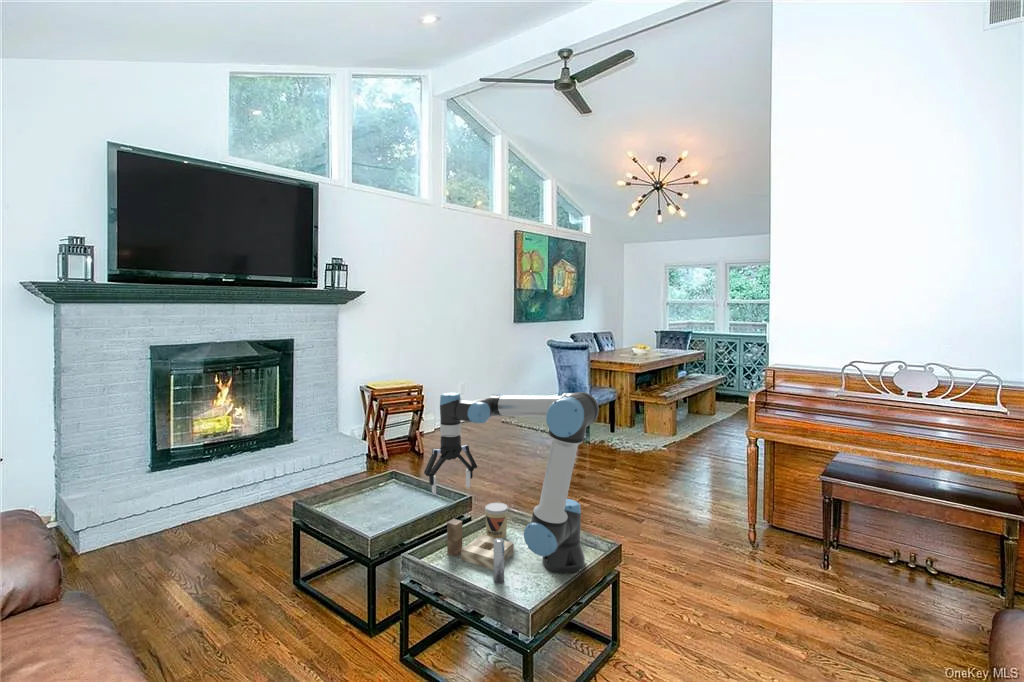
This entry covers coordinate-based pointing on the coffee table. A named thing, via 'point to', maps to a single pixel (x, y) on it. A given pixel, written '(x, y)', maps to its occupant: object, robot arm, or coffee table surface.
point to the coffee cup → (496, 520)
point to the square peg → (454, 537)
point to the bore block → (484, 551)
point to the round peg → (498, 561)
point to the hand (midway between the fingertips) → (451, 490)
